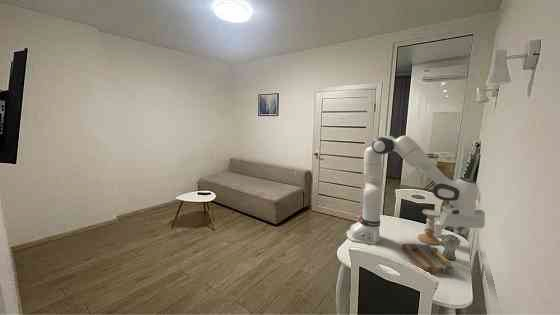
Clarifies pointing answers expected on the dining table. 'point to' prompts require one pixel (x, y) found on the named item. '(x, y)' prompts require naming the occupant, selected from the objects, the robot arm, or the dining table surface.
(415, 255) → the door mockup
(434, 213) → the candle holder
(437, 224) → the white cup
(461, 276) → the dining table surface
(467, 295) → the dining table surface
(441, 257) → the lock bar
